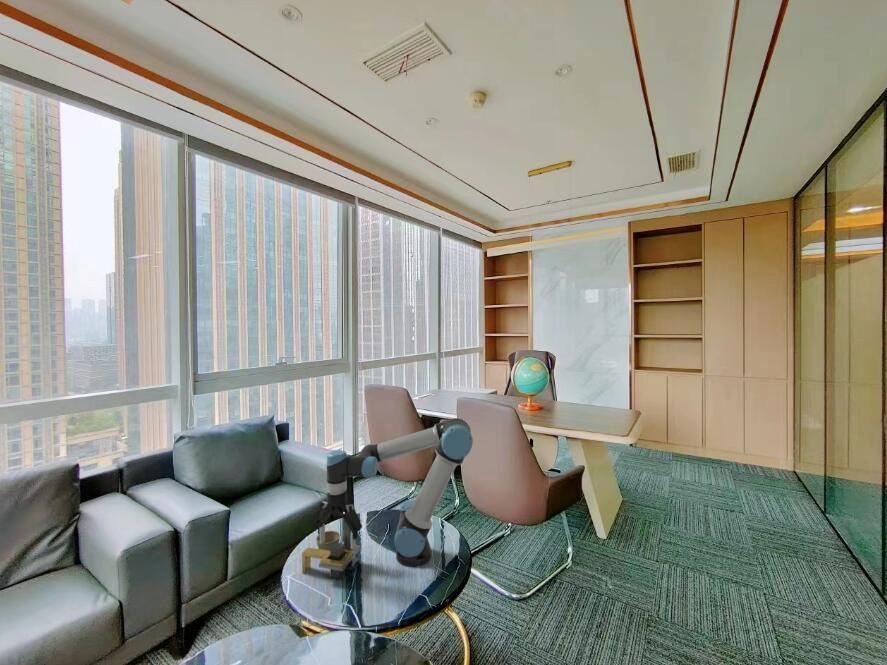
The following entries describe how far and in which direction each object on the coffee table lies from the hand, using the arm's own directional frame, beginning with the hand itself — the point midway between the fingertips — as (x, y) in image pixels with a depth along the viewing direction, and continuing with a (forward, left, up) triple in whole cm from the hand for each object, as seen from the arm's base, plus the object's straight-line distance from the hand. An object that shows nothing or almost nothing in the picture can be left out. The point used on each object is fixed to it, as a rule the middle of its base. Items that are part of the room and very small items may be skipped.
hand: (337, 544), depth 151 cm
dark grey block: (0, 0, -12) cm, 12 cm away
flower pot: (+12, -13, -13) cm, 22 cm away
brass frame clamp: (+5, -3, -13) cm, 14 cm away
